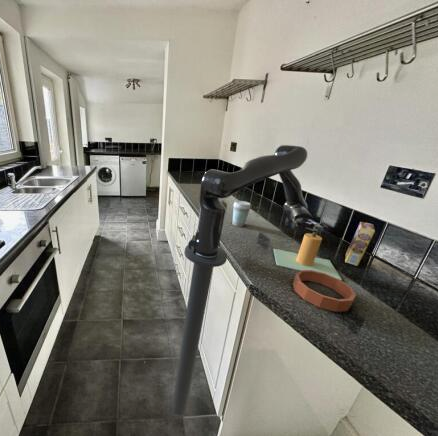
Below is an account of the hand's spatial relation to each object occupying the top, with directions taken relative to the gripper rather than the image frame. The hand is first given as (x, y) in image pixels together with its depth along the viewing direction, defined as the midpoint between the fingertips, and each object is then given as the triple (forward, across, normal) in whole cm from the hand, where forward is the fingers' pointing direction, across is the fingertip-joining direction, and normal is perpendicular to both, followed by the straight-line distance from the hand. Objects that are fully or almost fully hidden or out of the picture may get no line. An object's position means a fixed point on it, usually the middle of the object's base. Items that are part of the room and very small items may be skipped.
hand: (309, 231), depth 90 cm
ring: (+26, +1, +11) cm, 28 cm away
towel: (+6, 0, +11) cm, 13 cm away
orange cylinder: (+6, 0, +11) cm, 12 cm away
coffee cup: (-22, -25, +11) cm, 36 cm away
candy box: (-6, +19, +11) cm, 23 cm away
